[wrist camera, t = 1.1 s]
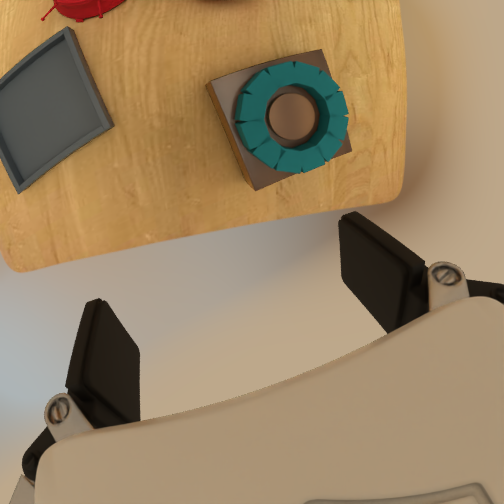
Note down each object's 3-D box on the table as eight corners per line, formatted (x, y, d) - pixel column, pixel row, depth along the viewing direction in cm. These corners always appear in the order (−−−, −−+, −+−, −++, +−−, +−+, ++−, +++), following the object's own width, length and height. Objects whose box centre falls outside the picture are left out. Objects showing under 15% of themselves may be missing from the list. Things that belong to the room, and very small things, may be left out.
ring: (319, 55, 23) (329, 52, 21) (347, 147, 28) (358, 151, 27) (218, 84, 22) (222, 82, 20) (258, 184, 28) (265, 190, 26)
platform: (305, 54, 26) (325, 47, 22) (334, 145, 32) (356, 152, 28) (205, 85, 25) (211, 80, 21) (245, 181, 32) (257, 193, 28)
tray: (73, 30, 18) (67, 25, 16) (114, 126, 25) (110, 127, 23) (-13, 100, 17) (-22, 101, 15) (25, 189, 24) (18, 194, 22)
